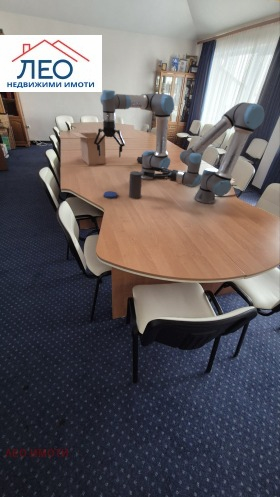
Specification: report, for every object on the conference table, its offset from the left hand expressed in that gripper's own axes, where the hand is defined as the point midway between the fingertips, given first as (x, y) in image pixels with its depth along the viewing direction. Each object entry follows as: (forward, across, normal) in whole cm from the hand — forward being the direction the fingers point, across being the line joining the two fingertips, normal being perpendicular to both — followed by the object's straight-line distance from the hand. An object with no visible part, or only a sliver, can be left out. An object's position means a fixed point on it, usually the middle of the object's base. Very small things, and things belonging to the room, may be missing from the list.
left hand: (109, 156), depth 150 cm
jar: (+28, +18, +2) cm, 34 cm away
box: (+28, -30, +87) cm, 97 cm away
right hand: (+8, +27, -1) cm, 28 cm away
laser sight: (+28, +28, +92) cm, 100 cm away
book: (+28, +69, +43) cm, 86 cm away
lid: (+27, 0, 0) cm, 27 cm away
